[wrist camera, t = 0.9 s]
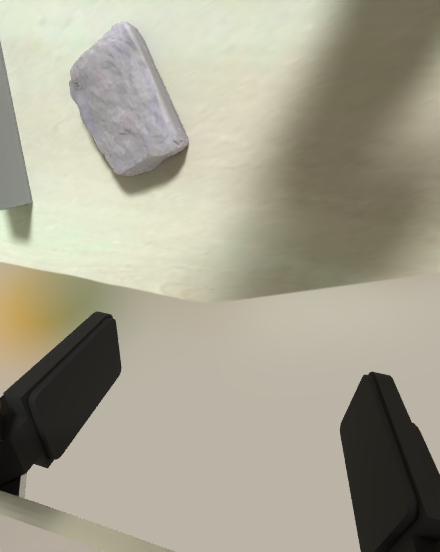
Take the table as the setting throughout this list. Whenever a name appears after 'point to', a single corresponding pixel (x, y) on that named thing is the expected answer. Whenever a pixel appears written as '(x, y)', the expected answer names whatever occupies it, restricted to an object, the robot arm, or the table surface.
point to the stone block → (126, 103)
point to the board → (10, 151)
